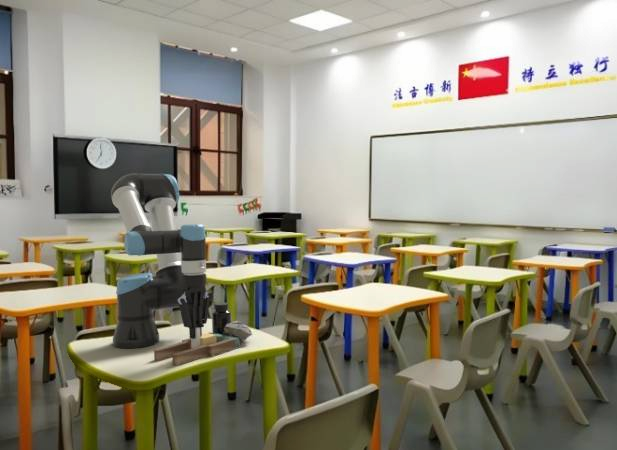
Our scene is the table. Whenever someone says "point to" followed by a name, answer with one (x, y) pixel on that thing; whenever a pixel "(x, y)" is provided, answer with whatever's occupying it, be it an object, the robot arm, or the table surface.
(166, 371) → the table surface
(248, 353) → the table surface
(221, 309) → the supplement bottle
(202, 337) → the block
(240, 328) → the mineral specimen
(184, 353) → the chute
